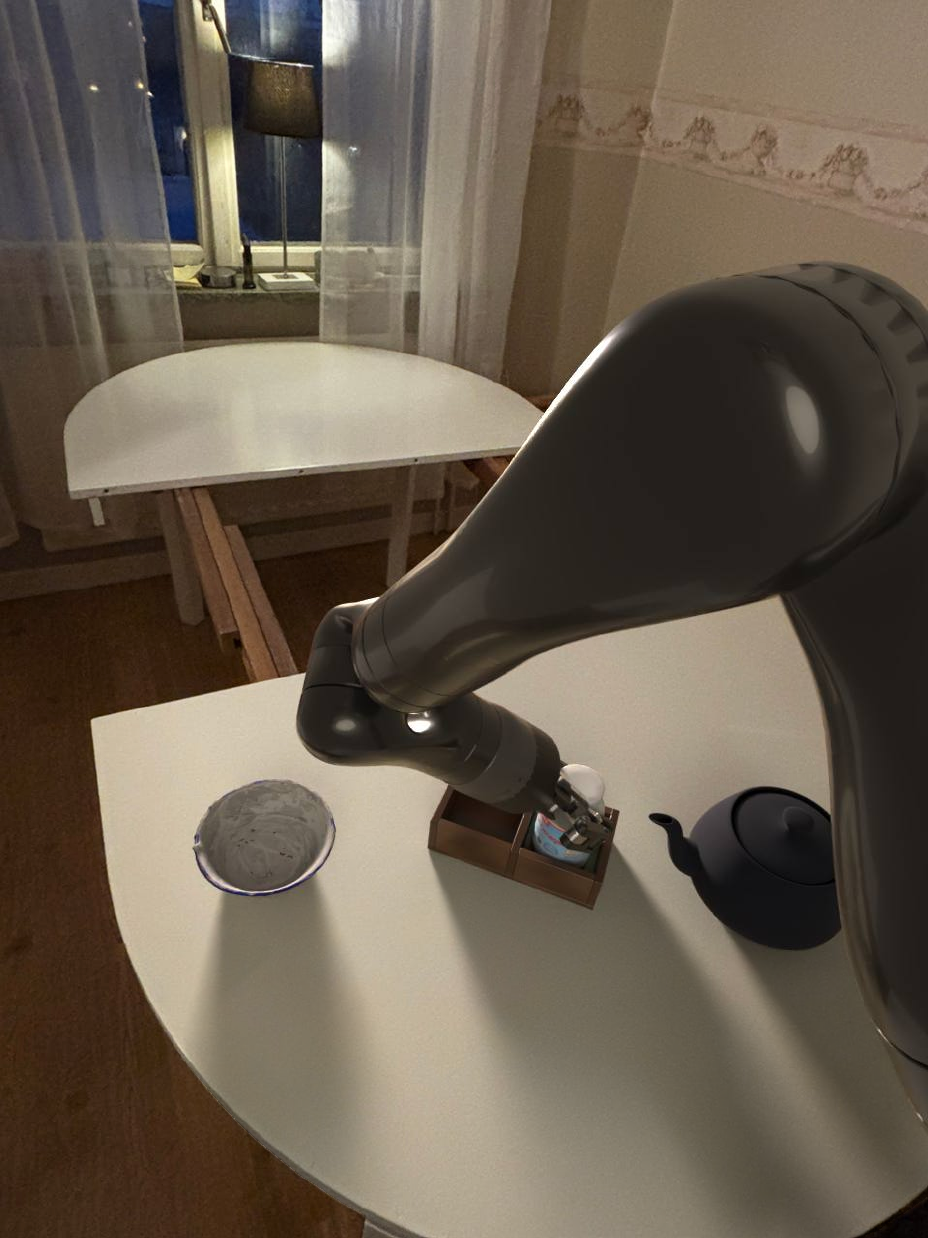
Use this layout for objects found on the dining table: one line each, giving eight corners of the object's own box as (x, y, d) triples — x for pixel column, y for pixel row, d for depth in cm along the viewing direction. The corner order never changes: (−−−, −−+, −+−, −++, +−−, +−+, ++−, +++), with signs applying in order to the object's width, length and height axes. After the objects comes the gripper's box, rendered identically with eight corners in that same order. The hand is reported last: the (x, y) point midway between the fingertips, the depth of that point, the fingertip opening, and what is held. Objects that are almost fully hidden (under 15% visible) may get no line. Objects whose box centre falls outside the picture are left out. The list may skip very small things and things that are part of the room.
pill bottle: (519, 835, 77) (537, 764, 70) (571, 821, 79) (593, 751, 72) (544, 886, 72) (565, 816, 65) (598, 870, 74) (624, 801, 67)
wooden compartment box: (610, 837, 79) (619, 810, 76) (592, 910, 72) (602, 884, 69) (457, 783, 82) (461, 756, 79) (427, 848, 75) (430, 821, 72)
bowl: (231, 949, 65) (225, 920, 62) (180, 844, 73) (172, 814, 70) (359, 878, 72) (359, 849, 69) (300, 788, 80) (298, 759, 77)
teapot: (842, 839, 81) (893, 767, 74) (897, 981, 69) (964, 911, 61) (618, 811, 81) (645, 736, 74) (632, 948, 69) (667, 874, 61)
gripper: (575, 793, 54) (661, 838, 66) (488, 667, 64) (576, 726, 76) (502, 857, 55) (599, 890, 67) (427, 724, 65) (524, 774, 77)
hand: (587, 803), depth 72 cm, fingers closed on pill bottle, 6 cm apart
